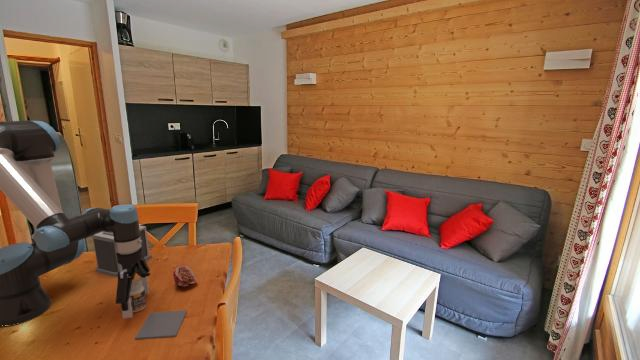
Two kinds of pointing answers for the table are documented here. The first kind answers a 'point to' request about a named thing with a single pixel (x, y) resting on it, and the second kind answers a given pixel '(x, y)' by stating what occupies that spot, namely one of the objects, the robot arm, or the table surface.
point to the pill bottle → (137, 296)
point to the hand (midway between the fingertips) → (137, 304)
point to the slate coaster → (161, 325)
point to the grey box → (114, 252)
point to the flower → (183, 276)
